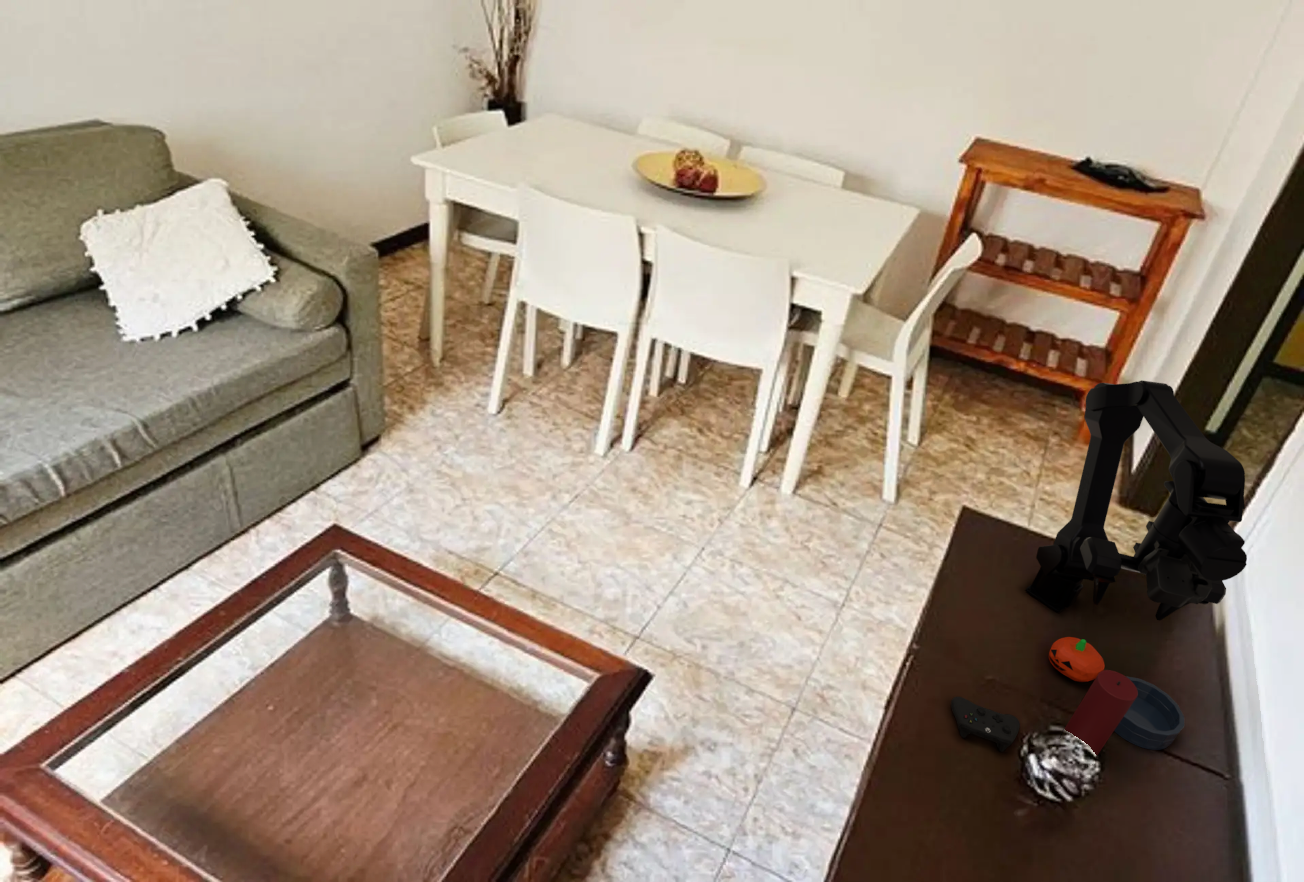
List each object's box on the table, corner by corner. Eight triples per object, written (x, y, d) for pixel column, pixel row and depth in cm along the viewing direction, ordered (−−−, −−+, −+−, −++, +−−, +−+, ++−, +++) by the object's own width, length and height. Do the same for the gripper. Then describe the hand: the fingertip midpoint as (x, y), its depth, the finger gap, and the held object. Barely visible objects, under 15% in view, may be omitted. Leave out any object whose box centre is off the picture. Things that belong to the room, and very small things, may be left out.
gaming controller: (1018, 717, 127) (1029, 720, 121) (1008, 754, 126) (1020, 758, 120) (951, 694, 129) (960, 695, 123) (941, 729, 128) (949, 733, 122)
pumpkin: (1092, 697, 133) (1110, 669, 130) (1039, 671, 136) (1056, 643, 133) (1099, 669, 139) (1116, 641, 135) (1048, 645, 142) (1064, 617, 138)
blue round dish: (1086, 712, 131) (1096, 696, 129) (1117, 681, 137) (1127, 666, 135) (1155, 762, 125) (1166, 747, 123) (1184, 728, 131) (1195, 712, 129)
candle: (1053, 741, 125) (1093, 677, 118) (1070, 724, 128) (1110, 661, 121) (1087, 767, 122) (1130, 703, 115) (1103, 749, 125) (1146, 686, 118)
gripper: (1120, 551, 117) (1073, 632, 125) (1265, 585, 115) (1206, 666, 124) (1102, 502, 126) (1059, 582, 135) (1235, 534, 124) (1183, 612, 133)
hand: (1125, 610), depth 131 cm, fingers open, 9 cm apart
